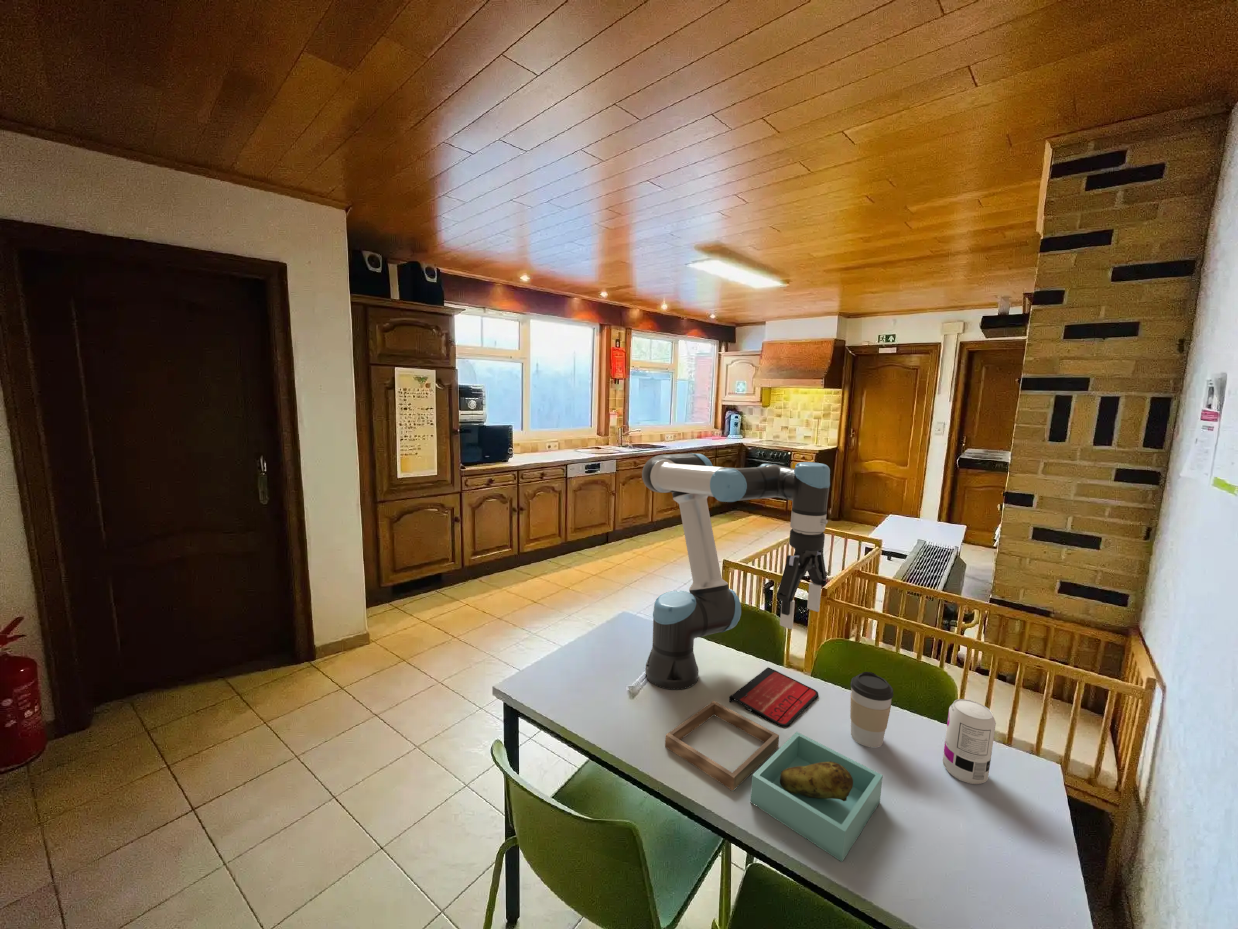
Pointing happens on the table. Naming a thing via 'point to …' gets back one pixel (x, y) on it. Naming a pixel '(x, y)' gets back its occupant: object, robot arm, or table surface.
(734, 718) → the frame
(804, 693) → the binder
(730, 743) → the table surface
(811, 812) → the tub
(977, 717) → the supplement can
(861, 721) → the coffee cup
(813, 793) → the potato
